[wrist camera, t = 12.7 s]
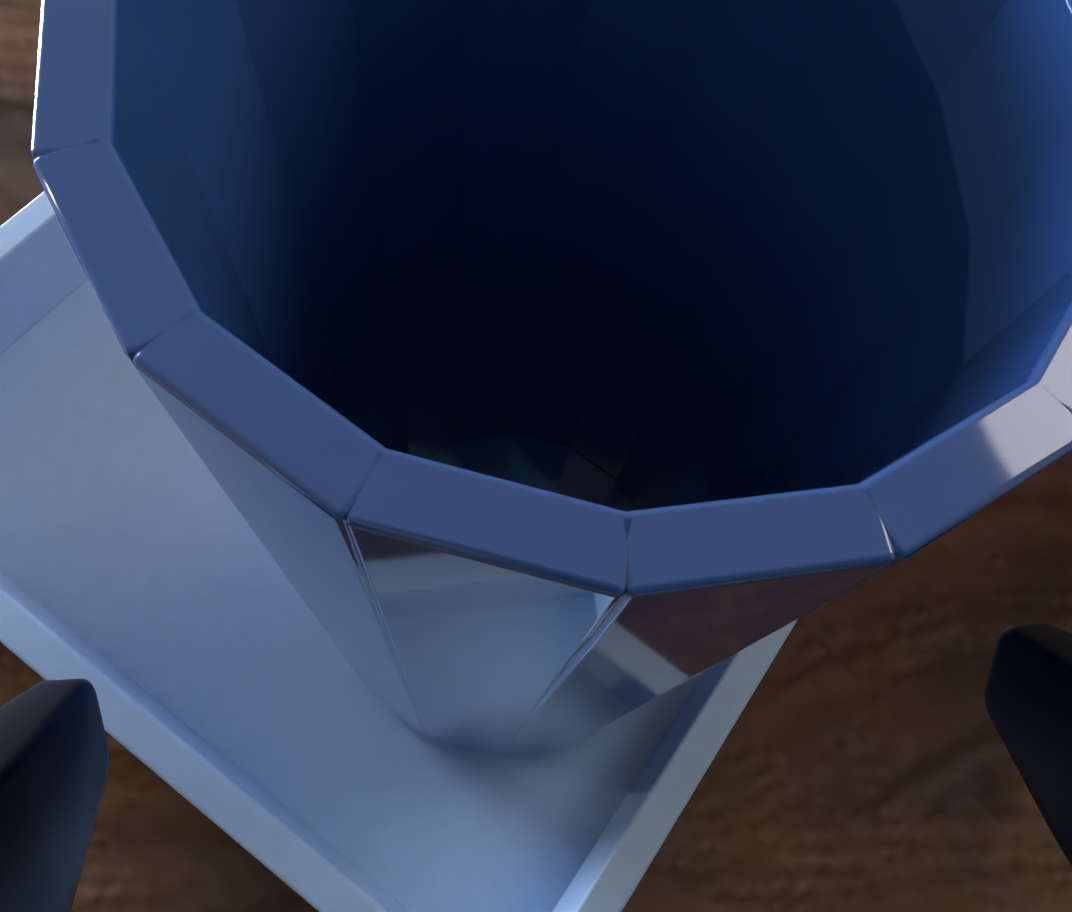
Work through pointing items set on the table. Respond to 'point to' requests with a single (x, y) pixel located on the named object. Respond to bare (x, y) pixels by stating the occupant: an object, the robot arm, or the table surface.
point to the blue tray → (284, 656)
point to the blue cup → (576, 308)
